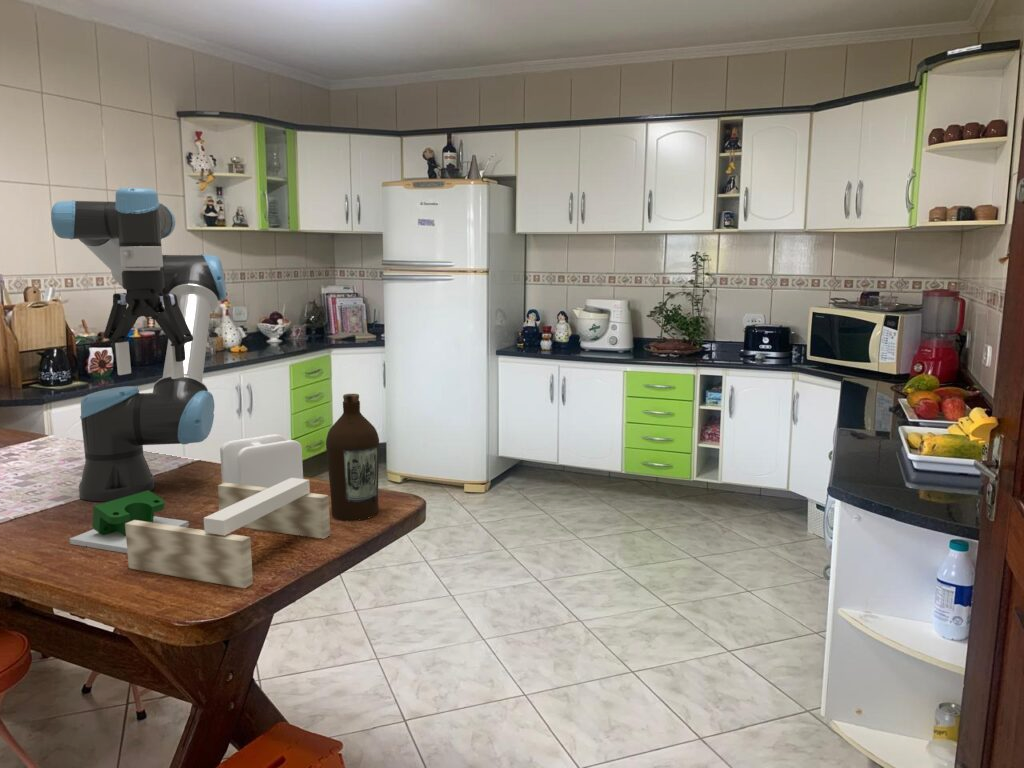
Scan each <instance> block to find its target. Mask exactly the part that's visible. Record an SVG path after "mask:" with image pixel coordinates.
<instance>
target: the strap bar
mask: <svg viewBox="0 0 1024 768" xmlns="http://www.w3.org/2000/svg"><path fill="white" fill-rule="evenodd" d="M310 487H311V486H310V479H305V478H303V479H298V478H290V479H287V480H285V481H283V482H281V483H279V484H276V485H274V486H272V487H270V488H268V489H266V490H263V491H261V492H259V493H257V494H255V495H252V496H250V497H248V498H246V499H244V500H242V501H239V502H237V503H235V504H233V505H231V506H228V507H226V508H224V509H222V510H220V511H219V510H218V511H215V512H213V513H211V514H209V515H207V516H205V517H203V528H204V529H203V530H204V532H205V533H211V534H218V535H224V536H225V535H227V534H232V532H235V531H237V530H239V529H240V528H243V527H242V526H244V525H246V524H248V523H250V522H252V521H254V520H256V519H258V518H260V517H262V516H264V515H266V514H268V513H270V512H272V511H274V510H276V509H278V508H280V507H282V506H284V505H286V504H288V503H290V502H292V501H294V500H296V499H298V498H300V497H302V496H304V495H306V494H308V493H311V492H310V491H311V489H310Z"/></svg>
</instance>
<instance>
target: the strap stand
mask: <svg viewBox="0 0 1024 768" xmlns="http://www.w3.org/2000/svg"><path fill="white" fill-rule="evenodd" d="M266 489H268V488H265V487H257V486H249V485H240V484H232V483H222V482H221V483H220V484H218V485H217V497H218V511H220V510H222V509H224V508H226V507H228V506H231V505H233V504H235V503H237V502H239V501H242V500H244V499H246V498H248V497H250V496H252V495H255V494H257V493H259V492H261V491H263V490H266ZM330 523H331V522H330V496H329V495H328V494H321V493H314V492H313V493H312V492H310V493H308V494H306V495H304V496H302V497H300V498H298V499H296V500H294V501H292V502H290V503H288V504H286V505H284V506H282V507H280V508H278V509H276V510H274V511H272V512H270V513H268V514H266V515H264V516H262V517H260V518H258V519H256V520H254V521H252V522H250V523H248V524H246V525H244V526H242V527H241V528H246V529H252V530H259V531H265V532H272V533H273V532H274V533H278V534H279V533H281V534H287V535H294V536H299V535H300V537H306V536H307V537H308V538H313V537H314V538H315V539H320V538H321V540H322V539H323V540H326V539H327V538H329V537H330V536H331V525H330ZM125 530H126V541H127V553H126V554H127V561H128V569H132V570H138V571H143V572H148V573H153V574H154V573H155V574H161V575H166V576H171V577H177V578H183V579H188V580H194V581H200V582H207V583H212V584H218V585H224V586H229V587H233V588H234V587H236V588H240V589H246V588H249V587H250V586H251V585H253V584H254V581H253V580H254V577H253V576H254V575H253V561H252V546H251V545H252V544H251V543H252V542H251V537H250V536H245V535H239V534H232V533H229V534H227V535H225V536H224V535H218V534H211V533H205V532H204V529H199V528H192V527H179V526H173V525H166V524H159V523H152V522H146V521H139V520H133V521H130V522H128V523H125ZM328 536H329V537H328ZM314 538H313V539H314Z"/></svg>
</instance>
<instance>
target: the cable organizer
mask: <svg viewBox="0 0 1024 768" xmlns="http://www.w3.org/2000/svg"><path fill="white" fill-rule="evenodd" d="M219 448H220V449H219V452H220V454H219V455H220V471H221V484H222V483H232V484H240V485H249V486H257V487H265V488H270V487H272V486H274V485H276V484H279V483H281V482H283V481H285V480H287V479H290V478H298V479H304V471H303V468H304V467H303V449H302V448H303V447H302V444H301V443H300V442H298V441H296V440H294V439H288V440H287V439H286V438H285V437H284V436H282V435H280V434H277V433H273V434H265V435H260V436H254V437H247V438H246V437H245V438H241V439H234V440H229V441H225V442H224V443H223V444H222V445H221V446H220V447H219Z"/></svg>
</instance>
